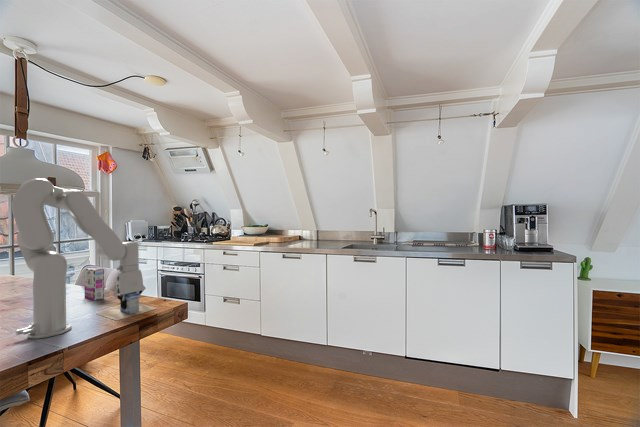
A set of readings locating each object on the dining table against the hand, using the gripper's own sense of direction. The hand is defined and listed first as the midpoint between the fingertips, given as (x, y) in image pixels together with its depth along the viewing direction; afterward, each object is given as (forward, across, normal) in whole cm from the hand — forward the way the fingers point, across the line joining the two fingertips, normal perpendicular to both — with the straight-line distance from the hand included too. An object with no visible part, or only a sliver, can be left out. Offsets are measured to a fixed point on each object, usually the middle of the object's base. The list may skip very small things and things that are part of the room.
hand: (129, 306), depth 139 cm
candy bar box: (+3, +3, +41) cm, 41 cm away
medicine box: (+3, 0, 0) cm, 3 cm away
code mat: (+3, 0, +2) cm, 3 cm away
